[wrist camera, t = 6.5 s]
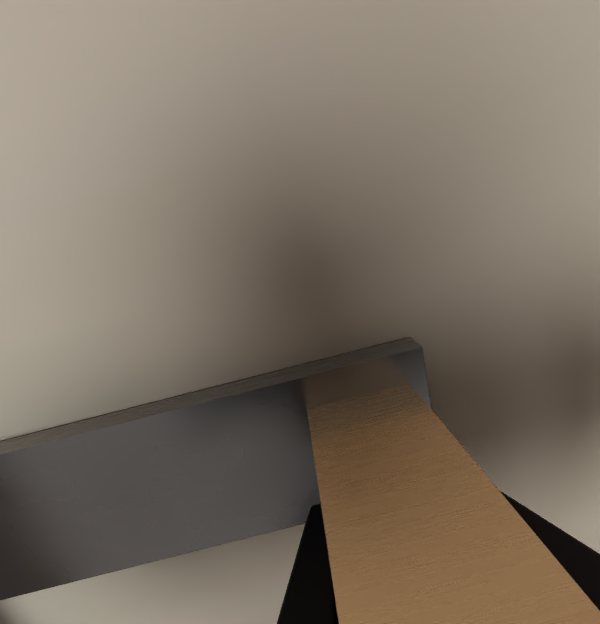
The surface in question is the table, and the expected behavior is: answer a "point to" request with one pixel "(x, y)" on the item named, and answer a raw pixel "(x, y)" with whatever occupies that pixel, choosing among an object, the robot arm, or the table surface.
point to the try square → (287, 494)
